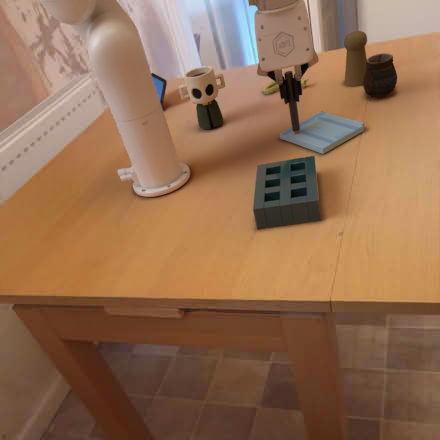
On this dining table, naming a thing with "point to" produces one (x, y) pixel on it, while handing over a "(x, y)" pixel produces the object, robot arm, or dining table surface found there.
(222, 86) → the character mug
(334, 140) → the light blue flat board
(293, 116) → the stylus
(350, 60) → the cork
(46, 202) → the dining table surface
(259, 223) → the pen stand
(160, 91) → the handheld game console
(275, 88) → the key
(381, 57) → the mate gourd
